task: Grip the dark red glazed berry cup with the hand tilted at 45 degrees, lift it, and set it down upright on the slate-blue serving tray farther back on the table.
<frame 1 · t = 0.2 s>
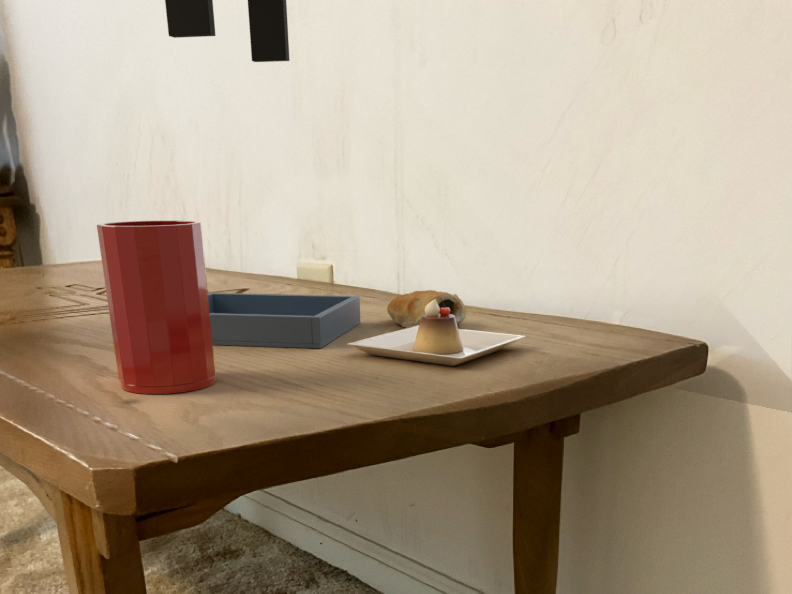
hand: (235, 50, 57), 23 cm above the table, tool pointing down, fingers open, 13 cm apart
pastry: (424, 327, 92), on the table
berry cup: (169, 383, 68), on the table
dessert: (437, 354, 79), on the table
serving tray: (261, 332, 89), on the table
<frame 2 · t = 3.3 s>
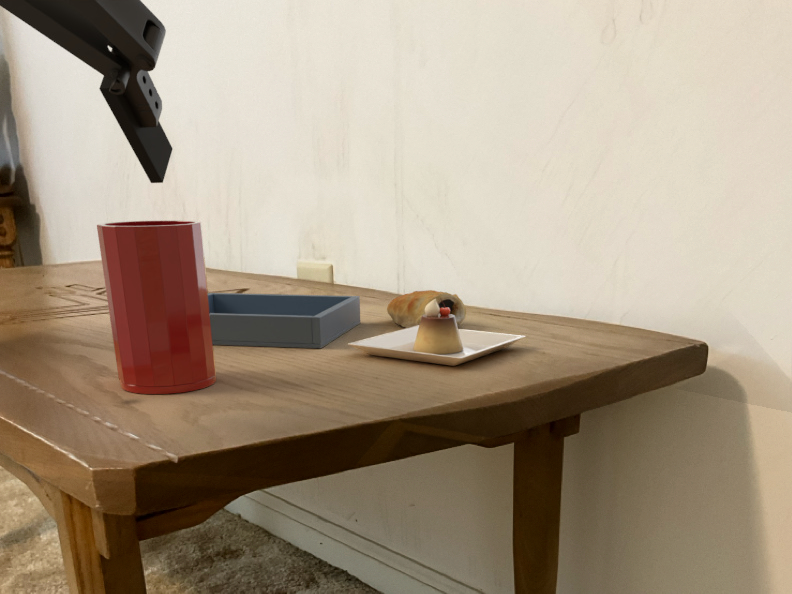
hand: (60, 169, 52), 16 cm above the table, tool tilted 45°, fingers open, 13 cm apart
nothing on the table moved.
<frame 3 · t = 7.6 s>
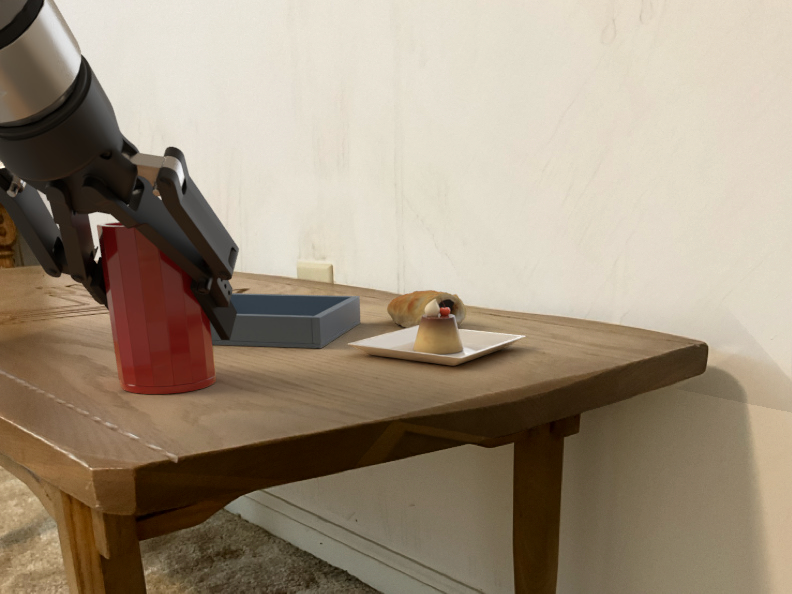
hand: (182, 324, 69), 4 cm above the table, tool tilted 45°, fingers closed on berry cup, 7 cm apart
berry cup: (169, 383, 68), on the table, touching gripper
everything else where it was.
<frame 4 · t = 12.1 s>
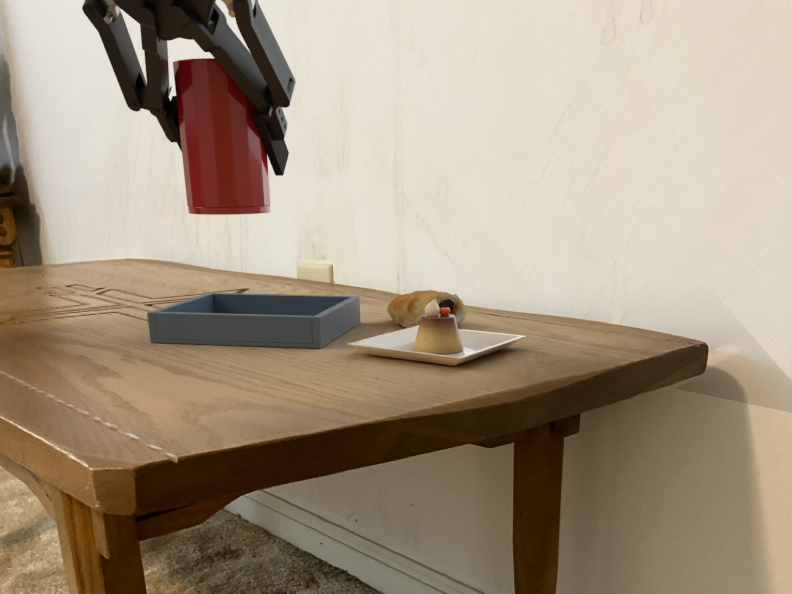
hand: (240, 164, 79), 16 cm above the table, tool tilted 45°, fingers closed on berry cup, 7 cm apart
berry cup: (229, 212, 78), point 12 cm above the table, touching gripper
everything else where it was.
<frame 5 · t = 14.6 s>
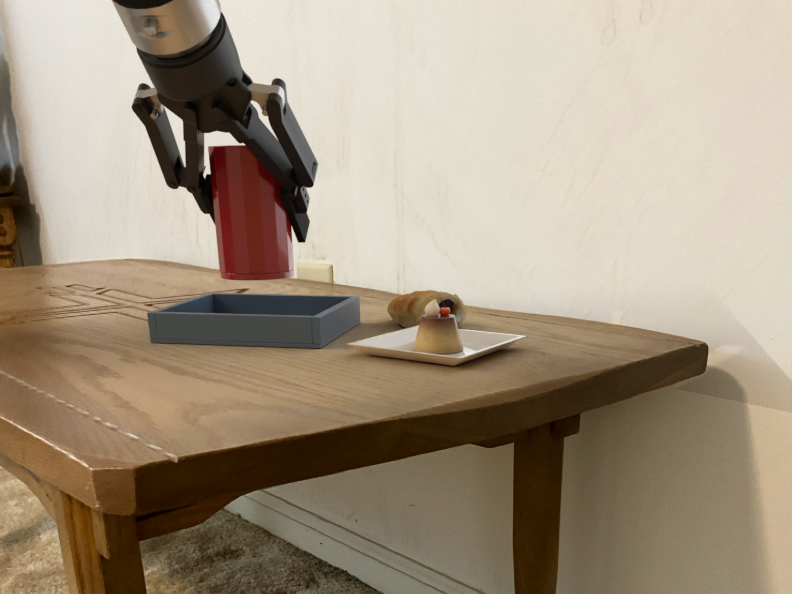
hand: (266, 231, 88), 10 cm above the table, tool tilted 45°, fingers closed on berry cup, 7 cm apart
berry cup: (257, 276, 86), point 6 cm above the table, touching gripper
everything else where it was.
when the fingers open (4 cm above the table, at t = 16.5 s): berry cup stays where it is, resting on serving tray.
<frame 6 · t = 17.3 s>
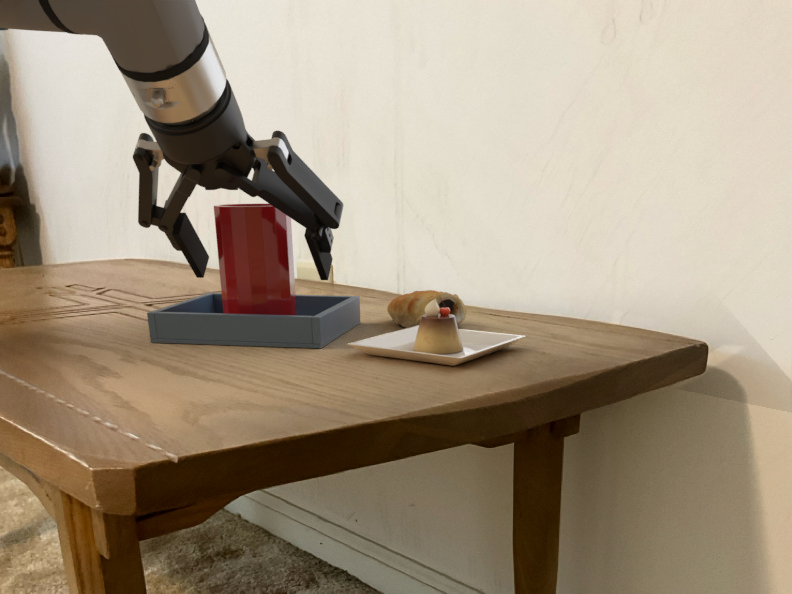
hand: (264, 268, 88), 6 cm above the table, tool tilted 45°, fingers open, 13 cm apart
berry cup: (261, 328, 88), resting on serving tray
everything else where it was.
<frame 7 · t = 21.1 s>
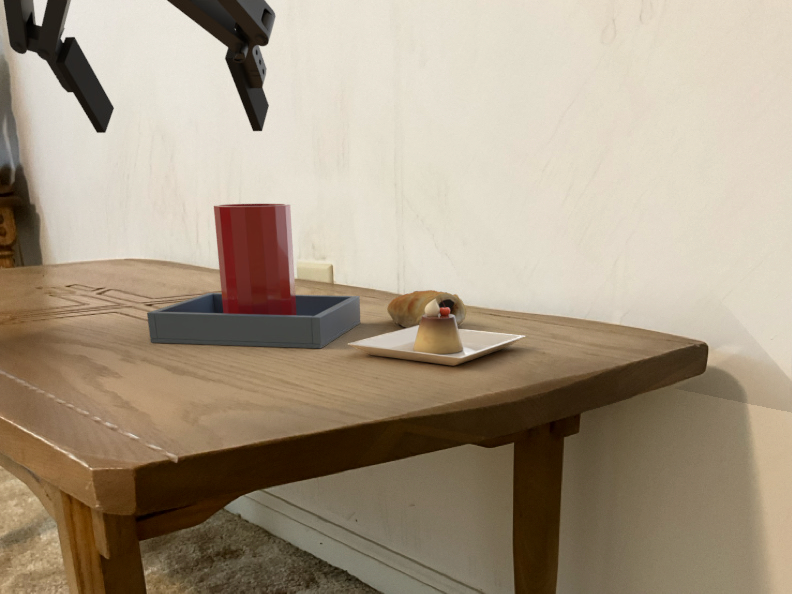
hand: (182, 119, 69), 19 cm above the table, tool tilted 45°, fingers open, 13 cm apart
nothing on the table moved.
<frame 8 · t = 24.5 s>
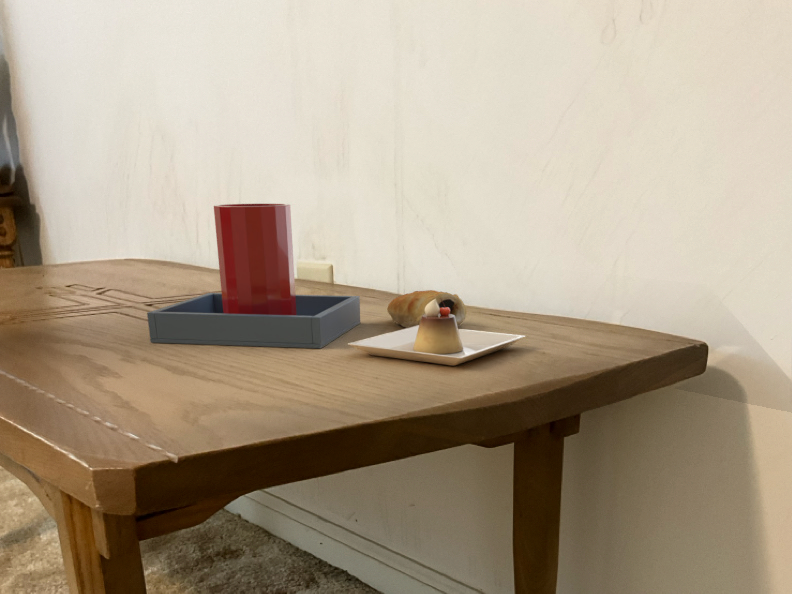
nothing on the table moved.
at the end: berry cup inside the target area in the serving tray (0.1 cm from its centre), point 0.4 cm above the serving tray's base; berry cup tilted 0°; the gripper is holding nothing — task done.
